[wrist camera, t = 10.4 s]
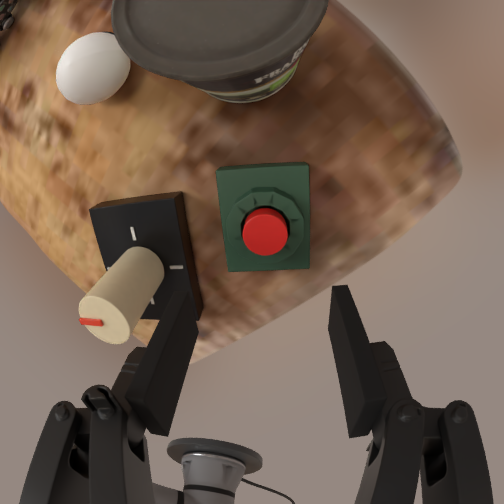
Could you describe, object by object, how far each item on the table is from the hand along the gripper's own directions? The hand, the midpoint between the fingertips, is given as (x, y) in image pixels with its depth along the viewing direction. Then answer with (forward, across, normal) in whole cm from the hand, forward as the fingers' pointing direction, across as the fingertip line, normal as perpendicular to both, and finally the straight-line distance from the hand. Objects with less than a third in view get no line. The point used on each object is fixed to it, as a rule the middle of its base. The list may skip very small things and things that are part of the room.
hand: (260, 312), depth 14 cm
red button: (+11, 0, 0) cm, 11 cm away
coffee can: (+15, -1, +16) cm, 22 cm away
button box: (+15, 0, 0) cm, 15 cm away
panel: (+15, -13, -4) cm, 20 cm away
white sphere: (+15, -15, +18) cm, 28 cm away
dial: (+12, -13, -4) cm, 18 cm away
